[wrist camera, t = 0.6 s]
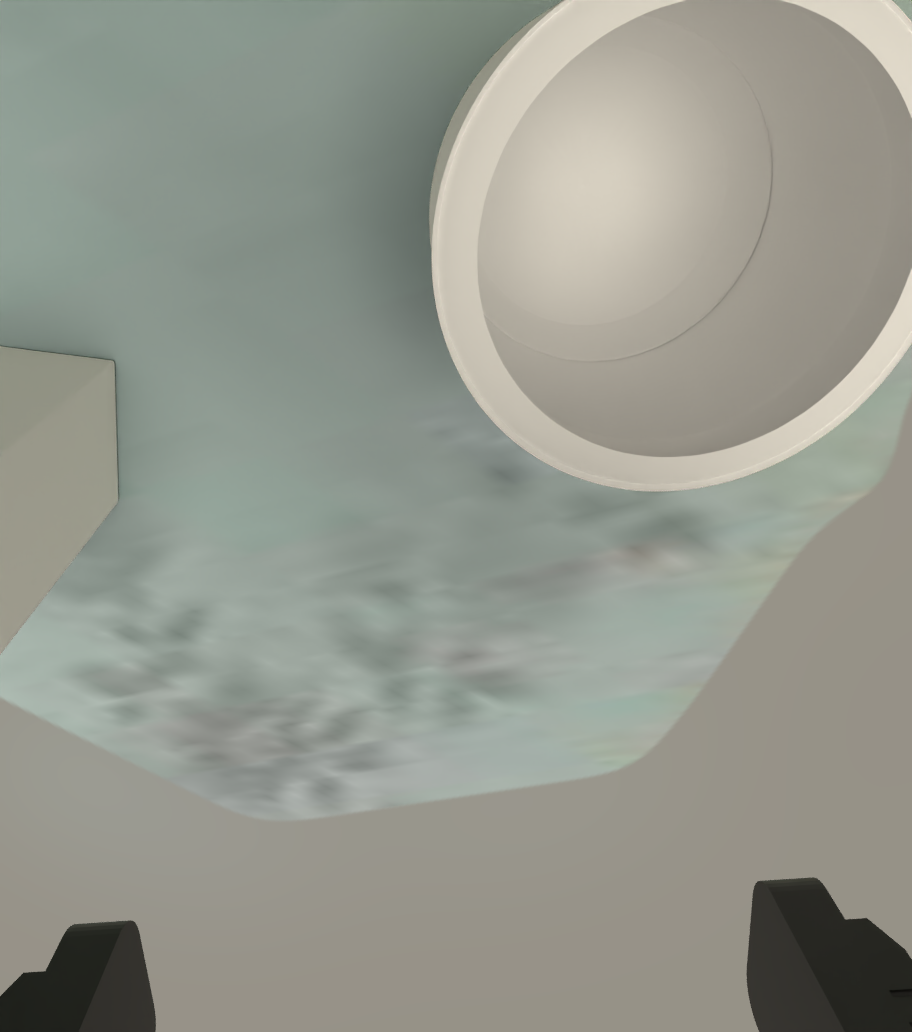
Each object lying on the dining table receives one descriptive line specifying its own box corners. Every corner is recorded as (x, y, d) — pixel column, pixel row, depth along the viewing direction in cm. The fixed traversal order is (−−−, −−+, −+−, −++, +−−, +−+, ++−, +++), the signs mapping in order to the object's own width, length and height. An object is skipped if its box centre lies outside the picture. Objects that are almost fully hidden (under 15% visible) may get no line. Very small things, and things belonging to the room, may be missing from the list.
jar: (549, 387, 34) (634, 580, 20) (365, 173, 30) (317, 230, 17) (782, 197, 31) (1062, 271, 17) (610, -65, 27) (793, -230, 14)
